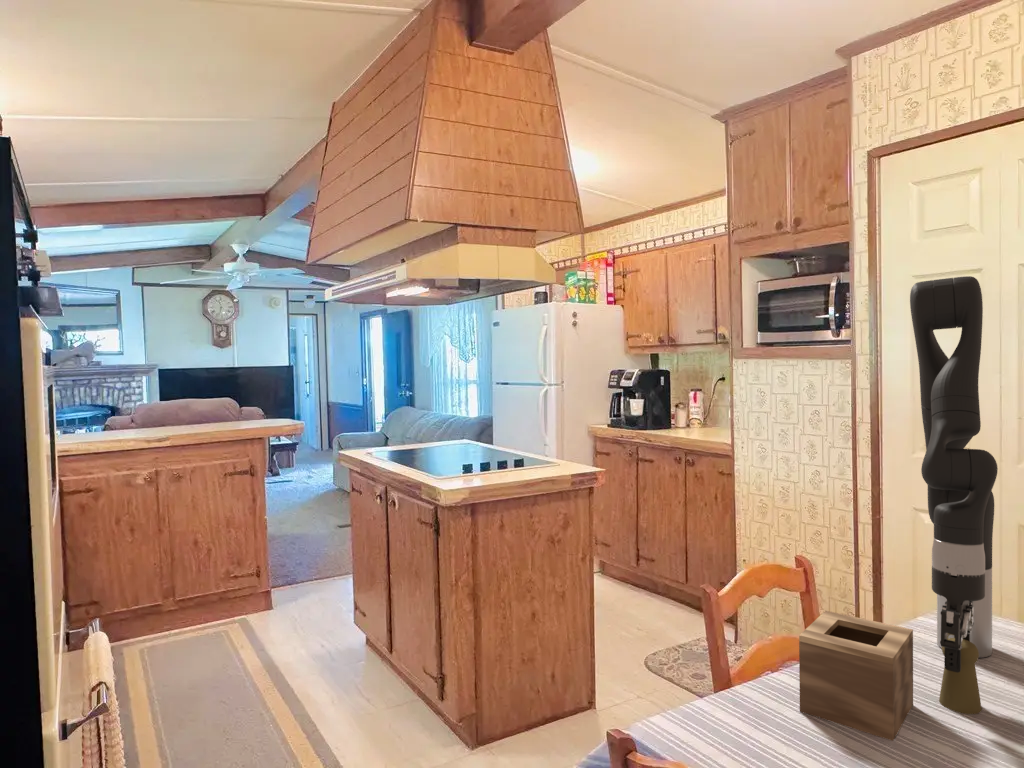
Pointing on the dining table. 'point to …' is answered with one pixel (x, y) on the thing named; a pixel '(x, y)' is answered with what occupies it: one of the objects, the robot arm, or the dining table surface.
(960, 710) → the olive pawn
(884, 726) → the walnut box
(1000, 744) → the dining table surface
